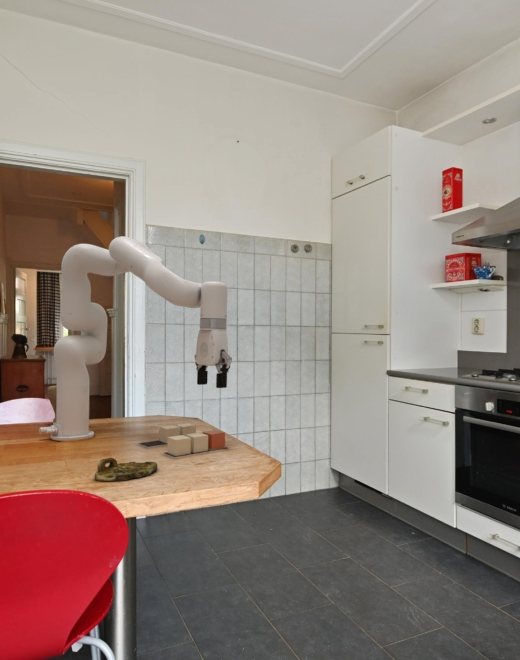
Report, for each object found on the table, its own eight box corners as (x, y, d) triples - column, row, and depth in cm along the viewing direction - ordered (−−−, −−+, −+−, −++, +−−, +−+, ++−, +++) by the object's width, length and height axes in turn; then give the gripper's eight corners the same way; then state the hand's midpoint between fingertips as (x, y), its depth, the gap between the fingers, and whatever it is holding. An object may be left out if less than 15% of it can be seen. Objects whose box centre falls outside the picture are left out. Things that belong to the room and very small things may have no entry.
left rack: (147, 448, 134) (148, 431, 134) (138, 444, 139) (138, 428, 139) (199, 440, 145) (199, 425, 145) (189, 437, 150) (189, 422, 150)
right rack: (174, 458, 123) (174, 440, 123) (163, 454, 127) (163, 436, 128) (228, 449, 134) (228, 432, 134) (216, 445, 138) (216, 429, 138)
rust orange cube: (211, 449, 131) (211, 434, 131) (202, 446, 134) (202, 431, 134) (225, 447, 134) (225, 432, 134) (215, 444, 137) (216, 430, 137)
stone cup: (45, 423, 172) (46, 381, 173) (80, 420, 178) (80, 380, 179) (49, 430, 159) (50, 385, 159) (87, 427, 165) (87, 383, 165)
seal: (145, 468, 117) (86, 480, 106) (144, 449, 117) (85, 458, 107) (167, 472, 110) (106, 484, 100) (166, 451, 111) (105, 461, 100)
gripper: (186, 325, 140) (184, 383, 139) (219, 324, 126) (217, 389, 126) (207, 326, 144) (206, 382, 144) (242, 326, 131) (240, 388, 131)
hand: (211, 386), depth 135 cm, fingers open, 9 cm apart
